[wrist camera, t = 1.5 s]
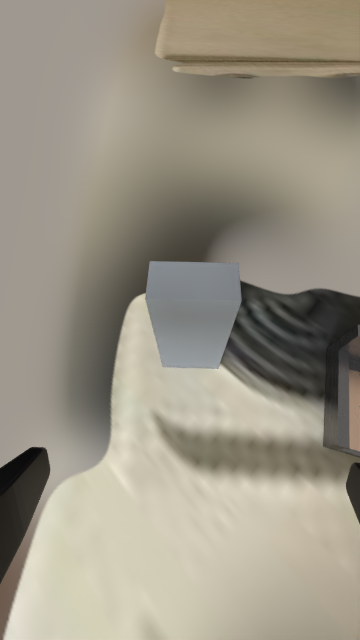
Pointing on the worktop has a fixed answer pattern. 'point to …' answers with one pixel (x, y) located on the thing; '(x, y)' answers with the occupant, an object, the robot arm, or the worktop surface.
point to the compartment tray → (343, 394)
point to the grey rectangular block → (192, 310)
